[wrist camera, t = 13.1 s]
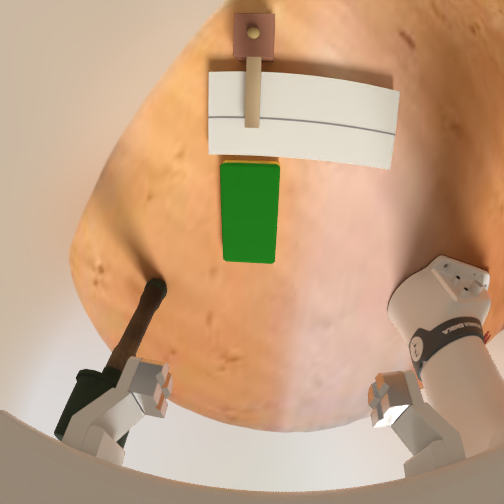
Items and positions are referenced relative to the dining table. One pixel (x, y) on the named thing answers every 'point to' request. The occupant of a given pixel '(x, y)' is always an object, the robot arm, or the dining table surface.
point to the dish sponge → (249, 210)
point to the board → (304, 119)
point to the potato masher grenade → (113, 359)
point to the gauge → (253, 56)
